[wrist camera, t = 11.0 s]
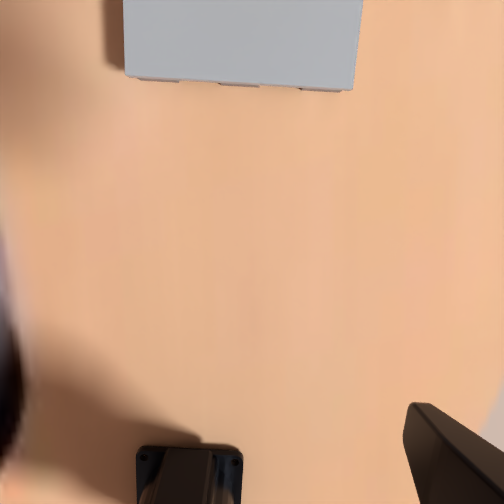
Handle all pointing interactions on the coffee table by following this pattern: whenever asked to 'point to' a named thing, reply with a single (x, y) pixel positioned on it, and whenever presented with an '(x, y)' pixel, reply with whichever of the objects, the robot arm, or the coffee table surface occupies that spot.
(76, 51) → the coffee table surface
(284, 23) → the block
